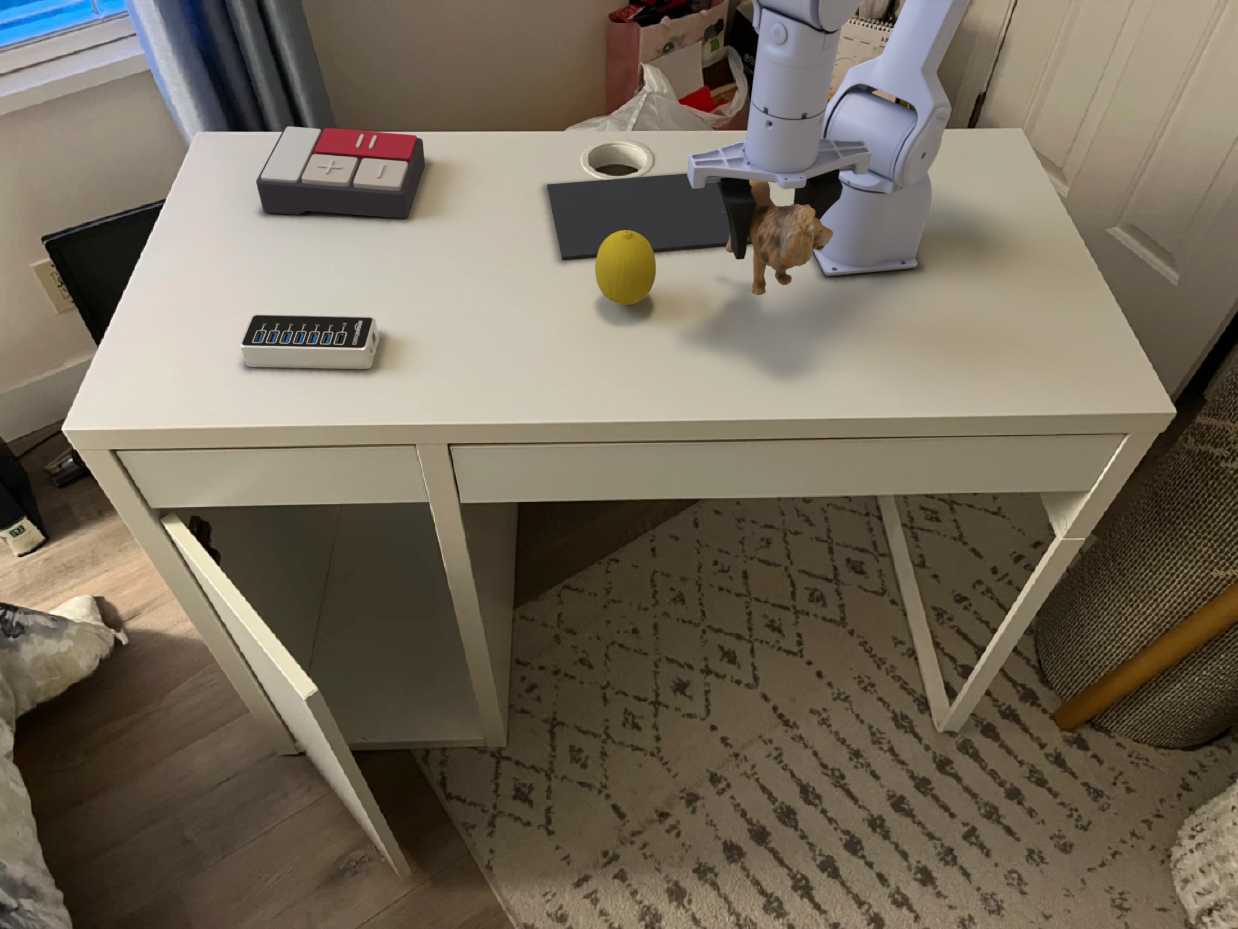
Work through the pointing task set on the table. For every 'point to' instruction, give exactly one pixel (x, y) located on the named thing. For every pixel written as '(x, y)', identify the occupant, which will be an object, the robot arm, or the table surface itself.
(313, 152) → the button control box
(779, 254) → the lion figurine
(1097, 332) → the table surface
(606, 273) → the lemon
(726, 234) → the desk mat
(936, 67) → the robot arm
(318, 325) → the multiport hub
